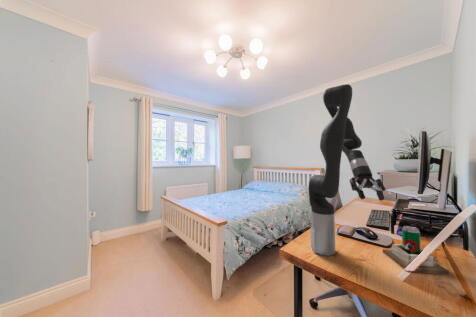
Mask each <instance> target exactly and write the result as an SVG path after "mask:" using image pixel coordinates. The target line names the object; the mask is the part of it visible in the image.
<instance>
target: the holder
mask: <svg viewBox="0 0 476 317" xmlns="http://www.w3.org/2000/svg"><path fill="white" fill-rule="evenodd" d="M423 250H424V249H423V248H421V252H422V251H423ZM382 253H383V254H384V255H385V256H386V257H388V258H389V259H391V260H392V261H393V262H394V263H396V265H398V266H399V267H400V268H402V269H403V270H404V268H406V267H407V266H408V265H409V264H410V263H411V262H412V261H413V260H414V259H415V258H416V257H417V256H418V255H413V254H408V253H407V252H405V251H404V250H403V248H402V244H399V243H397V244H396V243H395V244H394V243H391V249H382ZM436 258H437V257H436V256H435V255H433V254H431V253H430V255H429V256H428V258H427V259H426V260H425V261H424V262H423V263H422V264H421V265H420V266H419V267H418V268H417V269H416V270H415V271H413V272H412V273H421V274H422V273H425V274H435V275H436V274H439V275H450V270H448V269H446V268H445V267H444V266H441V264H439V263H437V261H436Z"/></svg>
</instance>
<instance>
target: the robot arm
mask: <svg viewBox="0 0 476 317" xmlns="http://www.w3.org/2000/svg"><path fill="white" fill-rule="evenodd" d="M322 98H323V99H322V100H323V104H324V106H325V108H326V110H327V111H328V113H329V115H330V117H331V120H330V121H329V122H328V123H327V125H326V126H325V127H324V128H323V130H322V132H321V136H320V142H319V147H320V151H321V155H322V157H323V159H324V161H325V174H324V175H321V174H320V175H319V174H317V175H315V174H314V175H312V176H311V177H310V179H309V181H308V200H309V206H310V207H311V226H310V247H311V249H312V251H313V253H314V254H319V255H322V256H326V257H328V256H331V257H332V256H334V255H335V254H336V228H335V227H336V221H335V220H336V218H335V217H336V214H335V206H334V205H333V204H332V203H330V202H329V201H328V200H327V199H333V198H335V197H336V196H337V194H338V192H339V187H340V172H341V171H340V170H341V161H342V153H344V155H345V156H346V158H347V160H348V162H349V166H350V169H351V172H352V174H353V175H352V176H353V177H351V178H350V179H349V184H350V187H351V190H352V191H353V192H354V191H355V192H356V193H357V195H358V197H359V199H360V200H364V199H366V196H365V193H364V190H363V189H370V190H371V191H374V192H375V193H376V195H377V198H378V200H379V201H380V202H381V201H384V200H385V195H384V193H383V192H384V191H386V187H385V186H384V183H383V182H382V180H381V178H376V179H374V178H373V173H372V170H371V169H370V166H369V164H368V162H367V160H366V159H365V155H364V154H363V152H362V150H359V149H360V148H361V147H362V144H363V142H362V140H361V138H360V137H359V136H358V135H357V133H356V131H355V128H354V125H353V122H352V120H351V119H350V118H349V117H348V116H349V112H350V107H351V103H352V100H353V99H352V98H353V88H352V85H350V84H349V83H348V84H341V85H336V86H332V87H329V88H326V89H325V90H324V92H323V95H322ZM326 198H327V199H326Z"/></svg>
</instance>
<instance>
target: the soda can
mask: <svg viewBox="0 0 476 317" xmlns="http://www.w3.org/2000/svg"><path fill="white" fill-rule="evenodd" d="M401 238H402V239H401V241H402V242H401V243H402V244H401V245H402V248H403V250H404V251H405V252H407V253H408V254H413V255H419V254H420V253H421V249H422V247H421V232H420V229H419V228H417V227H415V226H412V225H411V226H410V225H404V226H402V228H401Z"/></svg>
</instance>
